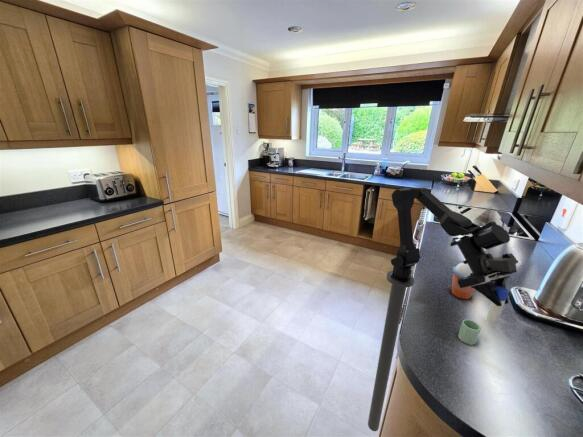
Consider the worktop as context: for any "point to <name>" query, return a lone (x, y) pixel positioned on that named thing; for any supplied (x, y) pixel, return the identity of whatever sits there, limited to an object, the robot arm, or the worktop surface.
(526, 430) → the worktop surface
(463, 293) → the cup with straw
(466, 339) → the glass
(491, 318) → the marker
